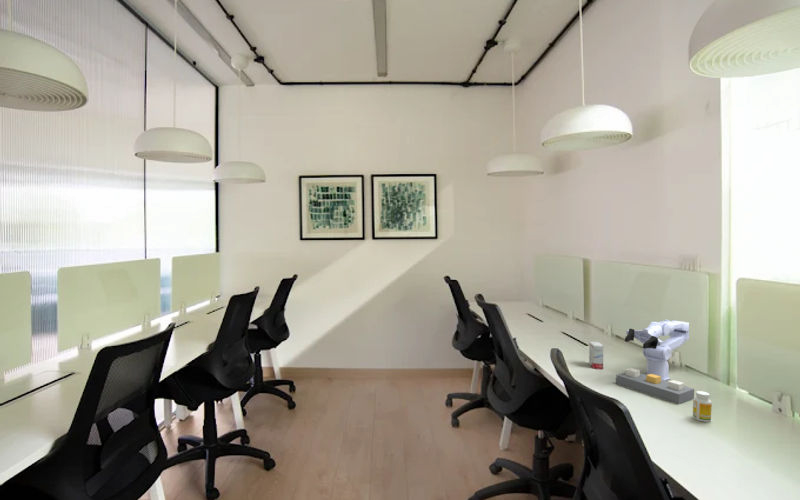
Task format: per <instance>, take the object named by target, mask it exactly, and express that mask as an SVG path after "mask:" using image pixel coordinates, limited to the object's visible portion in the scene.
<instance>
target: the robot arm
mask: <svg viewBox="0 0 800 500" xmlns="http://www.w3.org/2000/svg"><path fill="white" fill-rule="evenodd" d="M689 323H690V322H687V321H679V320H675V319H674V320H673V319H672V320H671V321H670V320H669V319H664V320H660V321H659V322H658V321H650V324H649V325H648V326H647V327H646V328H642V329H638V330H637V329H633V328H629V329H627V330H626V336H625V337H624V342H626V343H627V342H630V341H633V342H634V339H636V340H637V341H639V342H640V343H641V344H642V355H643V356H644V358H645V360H646V375H649V374H654V375H658V376H661V379H662V380H665V381H669V380H671V377H669V368H670V367H669V366H670V365H669V363H668V360H669V359H670V357H672V351H674V350H676V349H678V348H679V347H682V346H684V344H685V343H686V342H687V341H688V340H690V339H689V331H688V330H689ZM686 332H687V333H686ZM661 336H664V337H667V336H669V337H668V338H666V339H664V340H661V339H659V337H661ZM686 340H687V341H686ZM685 341H686V342H685Z"/></svg>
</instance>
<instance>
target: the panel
mask: <svg viewBox="0 0 800 500" xmlns="http://www.w3.org/2000/svg"><path fill="white" fill-rule="evenodd" d="M646 375H647V374H644V373H641V372H640V376H639V377H636V378H634V377H631V376H627V375H626V371H624V372H622V373H618V374H616V375H615V384H617V385H618V386H622V387H625V388H628V389H630V390H634V391H637V392H641V393H643V394H646V395H649V396H652V397H656V398H659V399H661V400H665V401H668V402H670V403H673V404H677V405H681V404H683V403H686V402H688V401H691V400H693V399H694V397H695V388H693V387H690V386H689V387H688V386H686V385H684V390H681V391H677V390H674V389H670V388H668V383H669V380H662V379H661V383H658V384H654V383H651V382H647V381H646Z"/></svg>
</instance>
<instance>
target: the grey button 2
mask: <svg viewBox="0 0 800 500" xmlns="http://www.w3.org/2000/svg"><path fill="white" fill-rule="evenodd" d="M668 381H669V380H668ZM684 386H685V382H682V381H679V380H675V379H673V380H670V381H669V383H668V388H670V389H674V390H677V391H681V390H684Z"/></svg>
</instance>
